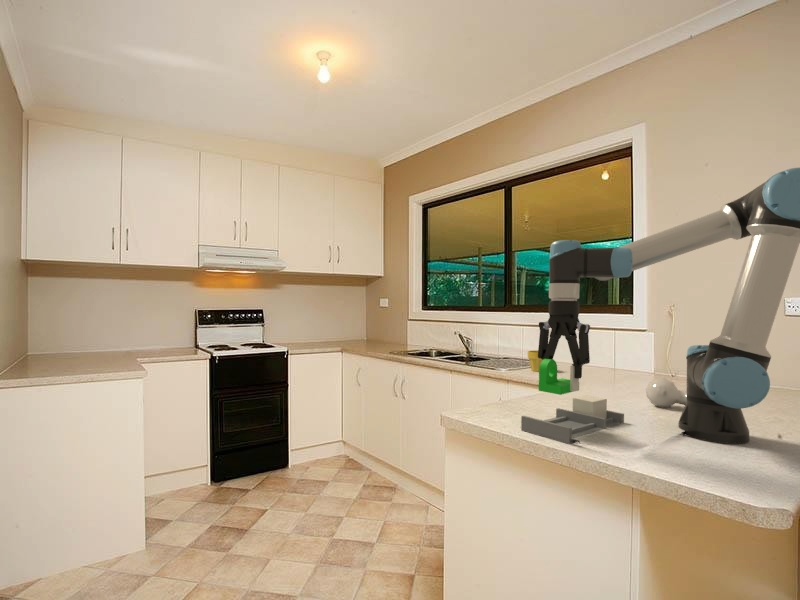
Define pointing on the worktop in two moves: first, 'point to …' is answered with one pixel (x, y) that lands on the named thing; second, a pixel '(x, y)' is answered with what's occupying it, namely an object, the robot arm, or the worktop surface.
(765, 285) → the robot arm
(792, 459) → the worktop surface
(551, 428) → the grey rail frame
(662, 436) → the worktop surface
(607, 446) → the worktop surface
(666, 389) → the potion bottle
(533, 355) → the plant pot
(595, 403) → the block
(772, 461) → the worktop surface
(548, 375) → the mechanical part
